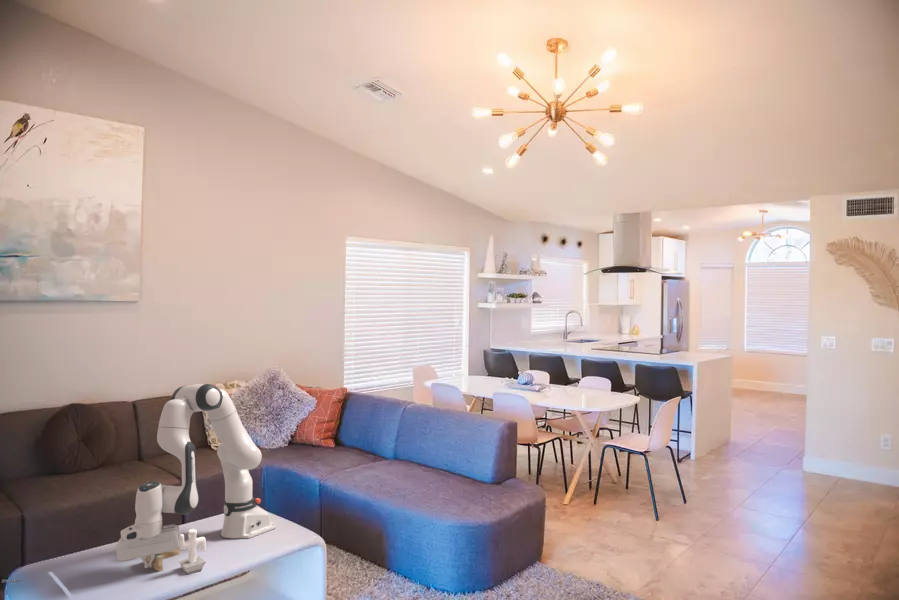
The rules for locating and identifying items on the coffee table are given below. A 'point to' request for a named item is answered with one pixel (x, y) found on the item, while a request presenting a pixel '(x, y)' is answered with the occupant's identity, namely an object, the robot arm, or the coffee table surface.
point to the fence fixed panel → (170, 553)
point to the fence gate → (156, 562)
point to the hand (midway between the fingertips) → (147, 567)
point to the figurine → (192, 552)
